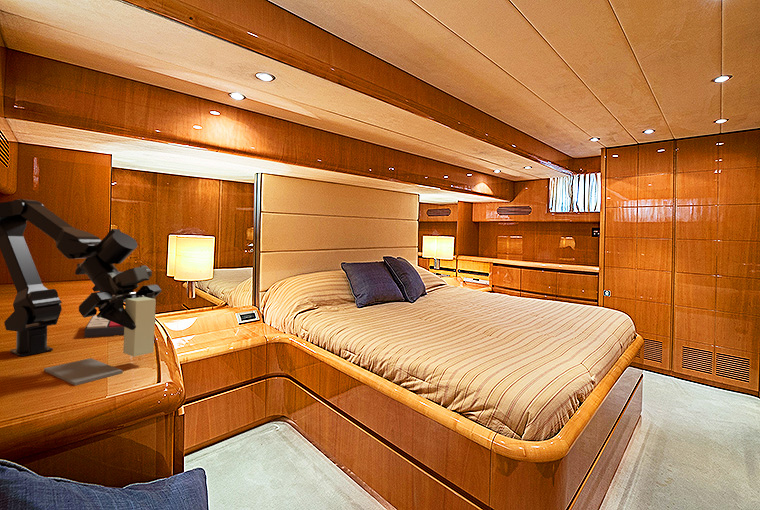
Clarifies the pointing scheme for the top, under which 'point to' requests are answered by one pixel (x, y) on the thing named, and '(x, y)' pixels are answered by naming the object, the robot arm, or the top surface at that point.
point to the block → (140, 326)
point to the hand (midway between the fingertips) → (144, 325)
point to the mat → (83, 371)
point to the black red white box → (102, 328)
